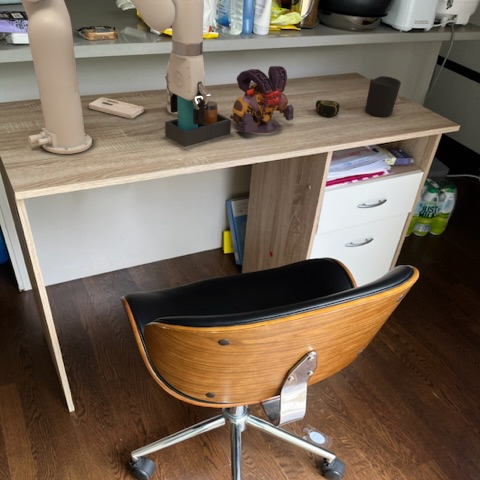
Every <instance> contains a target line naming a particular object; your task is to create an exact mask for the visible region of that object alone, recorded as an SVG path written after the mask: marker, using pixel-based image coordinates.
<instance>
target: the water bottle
mask: <svg viewBox="0 0 480 480" xmlns="http://www.w3.org/2000/svg"><path fill="white" fill-rule="evenodd" d="M196 96H198V95H196ZM197 102H198V103H199V99H198V100H197ZM193 109H195V106H194V104H193V101H192V100H190V101H189V100H186V99H184V98H182V97H180V96H178V114H177V119H178V127H179V128H181V129H183V130H185V131H187V130H190V129H194V128H198V124H196V125H195V124H193Z"/></svg>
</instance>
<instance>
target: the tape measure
mask: <svg viewBox="0 0 480 480" xmlns="http://www.w3.org/2000/svg"><path fill="white" fill-rule="evenodd" d="M340 106H341V105H340V103H339V102H337V101H335V100H327V99H325V100H323V99H321V100H320V99H318V100H316V103H315V109H316V111H317V112H318V114H319V115H322V116H326V117H334V116H337V115H338V114H339V111H340Z"/></svg>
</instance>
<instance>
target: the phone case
mask: <svg viewBox="0 0 480 480" xmlns="http://www.w3.org/2000/svg"><path fill="white" fill-rule="evenodd" d="M88 108H89V109H91V110H94V111H98V112H101V113H106V114H109V115H110V114H111V115H114V116H118V117H121V118H122V117H123V118H126V119H134V118H135V117H137V116H139V115H140V114H143V113H144V112H145V110H144V109H145V108H144V106H142V105H138V104H133V103H129V102H125V101H121V100H116V99H112V98H108V97H104V96H103V97H99V98H97V99H95V100H94V101H92V102H89V103H88Z"/></svg>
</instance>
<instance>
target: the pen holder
mask: <svg viewBox="0 0 480 480" xmlns="http://www.w3.org/2000/svg"><path fill="white" fill-rule="evenodd" d="M401 84H402V82H401V81H400V80H399V79H398V78H394V77H391V76H387V75H386V76H385V75H381V76H378V77H375V78H374V79H373V78H371V79H370V81H369V86H368V92H367V96H366V103H365V109H364V110H365V112H366V113H367V115H370V116H373V117H377V118H388V117H390V116H392V114H393V111H394V109H395V108H394V107H395V105H396V101H397V98H398V95H399V92H400V88H401Z"/></svg>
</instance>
